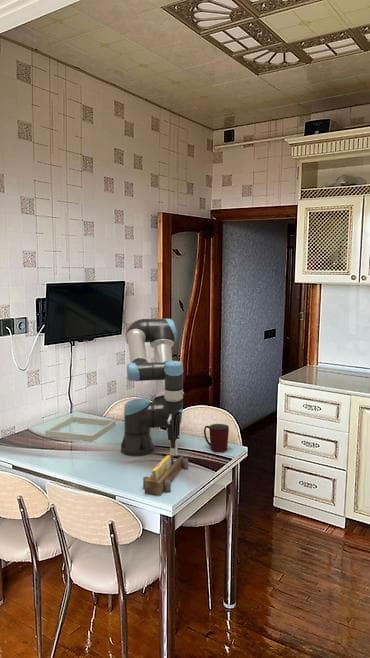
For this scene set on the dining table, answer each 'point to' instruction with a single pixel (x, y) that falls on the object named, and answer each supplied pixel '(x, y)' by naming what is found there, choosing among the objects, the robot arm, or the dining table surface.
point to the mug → (217, 437)
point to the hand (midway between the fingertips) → (173, 454)
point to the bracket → (165, 478)
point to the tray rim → (54, 433)
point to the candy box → (161, 468)
